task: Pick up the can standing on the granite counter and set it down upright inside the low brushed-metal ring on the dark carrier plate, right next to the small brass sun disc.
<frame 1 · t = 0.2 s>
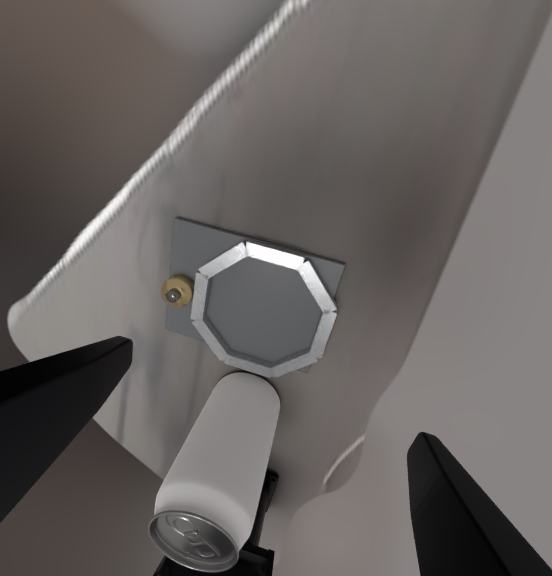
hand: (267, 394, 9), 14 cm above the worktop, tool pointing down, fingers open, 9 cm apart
carrier plate: (247, 298, 24), on the worktop
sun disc: (185, 285, 25), resting on carrier plate
can: (248, 395, 28), on the worktop
socket: (263, 308, 24), resting on carrier plate
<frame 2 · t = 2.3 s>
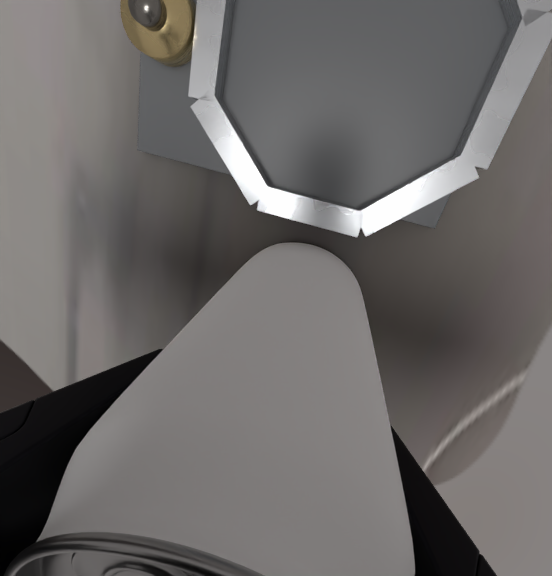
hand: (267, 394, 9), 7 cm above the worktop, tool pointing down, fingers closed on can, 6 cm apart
carrier plate: (313, 47, 11), on the worktop
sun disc: (177, 33, 12), resting on carrier plate
can: (296, 301, 15), on the worktop, touching gripper
socket: (349, 72, 11), resting on carrier plate
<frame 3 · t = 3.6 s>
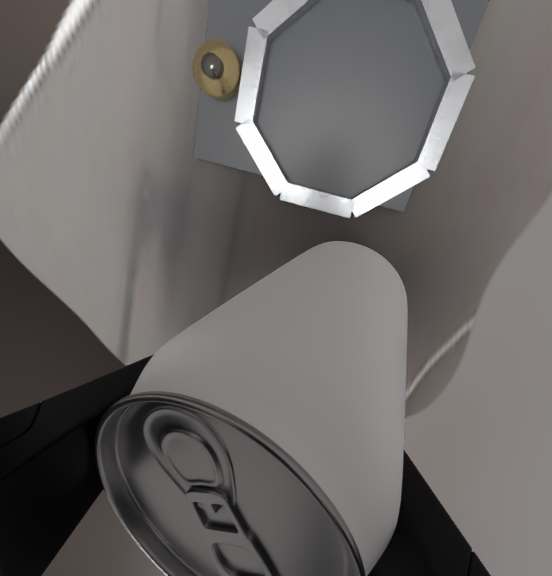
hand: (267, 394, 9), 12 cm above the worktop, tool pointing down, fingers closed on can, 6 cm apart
carrier plate: (319, 88, 16), on the worktop
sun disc: (225, 77, 17), resting on carrier plate
can: (342, 298, 16), point 4 cm above the worktop, touching gripper
socket: (343, 105, 16), resting on carrier plate
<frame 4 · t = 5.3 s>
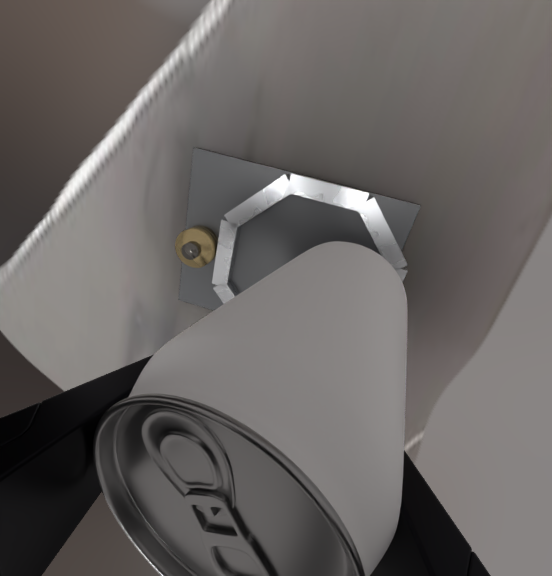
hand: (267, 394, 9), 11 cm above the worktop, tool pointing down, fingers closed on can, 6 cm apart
carrier plate: (284, 256, 19), on the worktop
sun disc: (204, 242, 20), resting on carrier plate
can: (341, 299, 16), point 3 cm above the worktop, touching gripper
socket: (304, 270, 19), resting on carrier plate
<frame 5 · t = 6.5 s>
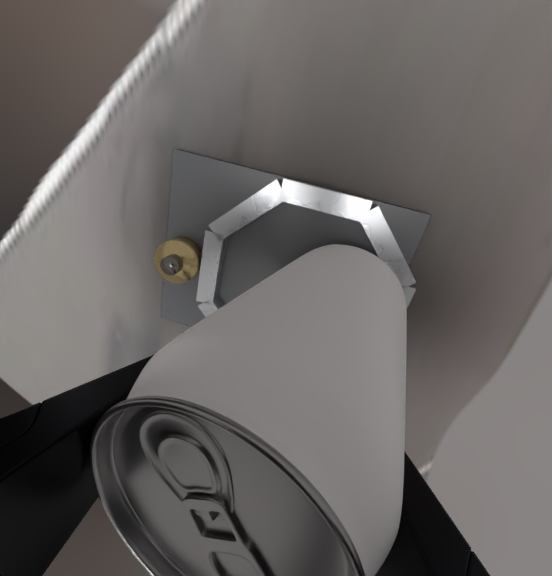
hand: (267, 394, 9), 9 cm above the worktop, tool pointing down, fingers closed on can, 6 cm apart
carrier plate: (276, 271, 17), on the worktop
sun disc: (188, 254, 18), resting on carrier plate
can: (340, 302, 16), point 1 cm above the worktop, touching carrier plate, gripper
socket: (299, 286, 17), resting on carrier plate
when the fingers open (9 cm above the worktop, at t = 6.9 s): can stays where it is, resting on carrier plate, socket.
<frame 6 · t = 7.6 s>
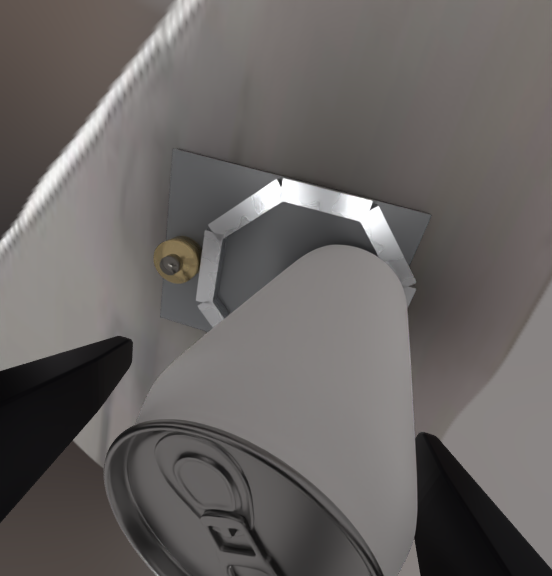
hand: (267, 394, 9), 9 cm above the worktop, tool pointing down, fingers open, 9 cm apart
carrier plate: (276, 271, 17), on the worktop
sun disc: (188, 254, 18), resting on carrier plate
can: (341, 301, 16), point 1 cm above the worktop, touching carrier plate, socket
socket: (299, 286, 17), resting on carrier plate
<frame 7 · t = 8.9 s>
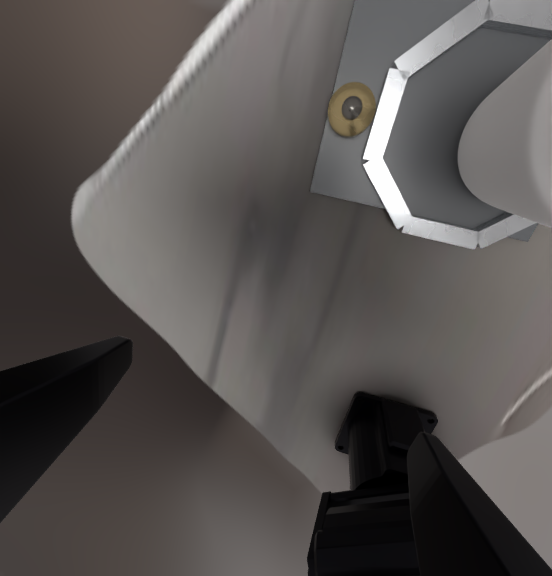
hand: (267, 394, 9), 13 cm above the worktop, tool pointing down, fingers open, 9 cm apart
carrier plate: (448, 123, 16), on the worktop
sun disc: (350, 114, 17), resting on carrier plate
can: (527, 144, 15), point 1 cm above the worktop, touching carrier plate, socket
socket: (472, 139, 16), resting on carrier plate
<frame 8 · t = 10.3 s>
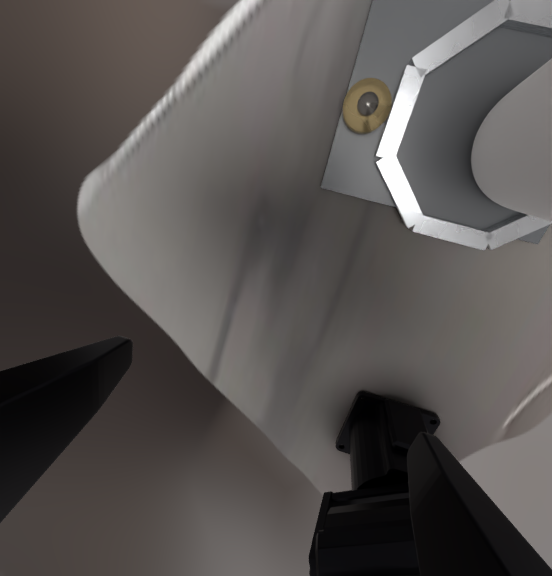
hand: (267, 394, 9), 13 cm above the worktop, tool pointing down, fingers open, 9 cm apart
carrier plate: (462, 123, 16), on the worktop
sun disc: (364, 111, 17), resting on carrier plate
can: (542, 145, 15), point 1 cm above the worktop, touching carrier plate, socket
socket: (486, 139, 16), resting on carrier plate
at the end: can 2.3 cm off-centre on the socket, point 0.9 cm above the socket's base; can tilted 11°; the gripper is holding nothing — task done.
